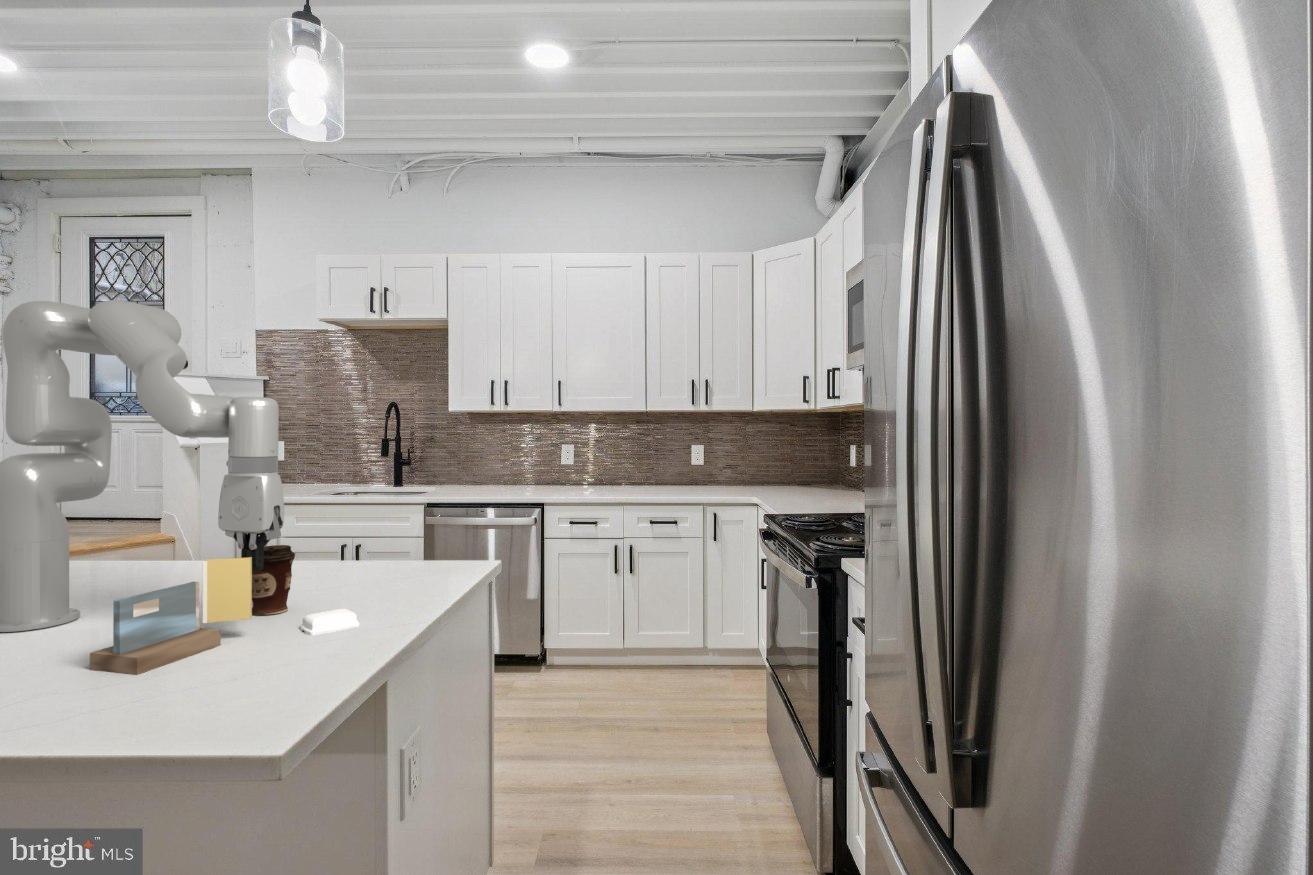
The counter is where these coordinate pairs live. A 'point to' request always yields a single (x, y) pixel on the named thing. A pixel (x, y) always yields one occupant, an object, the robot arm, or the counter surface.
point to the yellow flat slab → (226, 589)
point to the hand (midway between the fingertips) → (252, 570)
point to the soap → (329, 622)
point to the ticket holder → (155, 631)
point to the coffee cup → (272, 581)
